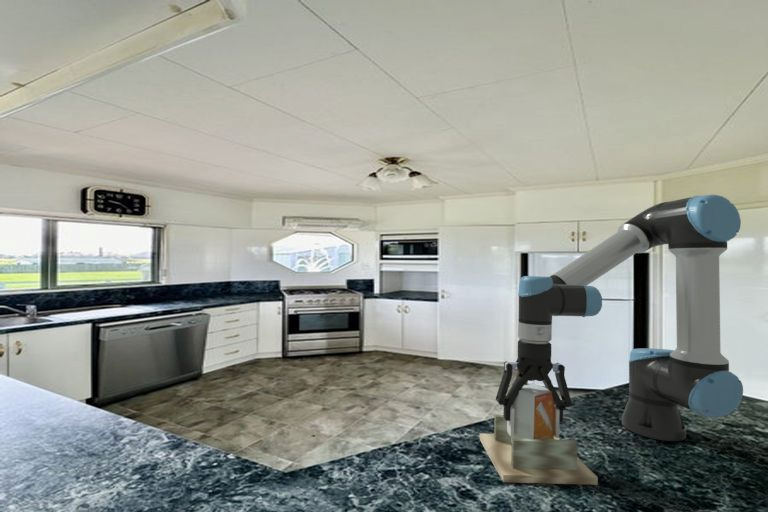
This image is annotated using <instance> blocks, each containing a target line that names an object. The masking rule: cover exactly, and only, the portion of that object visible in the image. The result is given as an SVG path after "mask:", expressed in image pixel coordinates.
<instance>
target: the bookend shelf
mask: <svg viewBox="0 0 768 512" xmlns="http://www.w3.org/2000/svg"><path fill="white" fill-rule="evenodd" d="M493 422H494V423H493V426H494V427H493V429H494V430H493V433H479V441H480V442H481V444H482V446H483V448H484V450H485V452H486V453H487V456H488V457H489V459H490V461H491V463H492V464H493V466H494V468H495V471H497V473H498V475H499V477H500V480H501V481H502V482H503V483H514V484H515V483H519V484H520V483H521V484H523V483H524V484H525V483H526V484H554V485H555V484H557V485H560V484H561V485H589V484H590V486H592V485H594V486H595V485H596V486H597V485H599V484H598V476H597V475H596V474H595V473H594V472H593V471H592V470H591V469H590V468H589V467H588V466H586V464H585V463H584V462H583V461H582V460H581V459H580V458H579V457H578V442H577V441H576V440H575V439H560V437H559V438H556V437H555V436H554V439H521V438H512V442H511V436H510V435H509V434H508V432H507V421H506V420H505V419H504V417H503V414H495V415H494V421H493Z"/></svg>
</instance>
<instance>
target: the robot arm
mask: <svg viewBox="0 0 768 512" xmlns="http://www.w3.org/2000/svg"><path fill="white" fill-rule="evenodd" d="M741 223H742V222H741V216H740V213H739V211H738V209H737V207H736V206H735V204H733V203H731V201H730V200H729V199H728V198H726V197H724V196H721V195H719V194H704V195H694V196H691V197H686V198H681V199H680V198H679V199H676V200H672V201H671V200H670V201H665V202H660V203H657V204H654V205H653V206H650V207H648V208H647V209H644V210H643V211H641V212H639V213H638V214H636V215H635V216H633V217H632V218H630V219H629V220H627V221H626V222H624V223H623V224H621V225H620V226H618V229H617V232H616V233H614V234H612V235H611V236H610V237H607V238H606V239H605V240H603V241H602V242H601V243H600V242H599V244H597V245H596V246H594V247H593V248H592V249H589V250H588V251H587V252H586V253H584V254H582V255H580V256H579V257H578V258H576V259H575V260H573V261H571V262H570V263H568V264H567V265H565V266H564V267H562V268H561V269H559V270H557V271H556V272H555V273H553V274H551V275H550V276H540V275H539V276H536V275H533V276H532V275H525V276H521V278H520V279H519V283H518V284H519V285H518V293H517V296H518V319H517V320H518V321H517V322H518V323H517V324H518V325H517V337H518V341H517V359H516V361H515V362H509V361H508V360H507V361H504V362H503V374H502V377H501V380H500V384H499V387H498V390H497V393H496V396H495V401H496V402H497V403H498V404H499V405H500V406H503V412H502V413H503V414H502V415H503V417H504V419H505V420H506V421H507V432H508V434H509V435H510V436H511V437H514V408H513V407H512V404H513V402H514V401H515V399H516V397H517V396H518V394H519V390H521V389H522V387H523V386H524V385H527V383H528V382H533V381H534V382H535V381H537V382H541V383H542V384H543V385H544V387H546V388H547V389H548V390H549V391H551V392H552V395H553V398H554V400H555V412H554V436H555V437H556V438H559V439H560V423H563V421H564V411H565V410H566V409H567V408H566V407H569V408H570V407H572V405H573V404H572V400H571V395H570V392H569V389H568V385H567V384H568V383H567V380H566V378H565V370H566V367H565V366H564V365H563V364H561V363H560V362H556V363H554V362H553V363H552V343H551V341H552V336H553V334H552V333H553V331H552V327H553V317H582V318H585V317H593V316H596V315H598V314H599V313H600V312H601V309H602V307H603V297H602V294H601V292H600V290H599V288H597V287H595V286H592V285H590V284H592V283H593V282H595V281H596V280H598V279H599V278H600V277H602V276H604V275H605V274H606V273H608V272H609V271H611V270H612V269H614V268H616V267H617V266H619V265H620V264H623V262H625V261H626V260H627V259H629V258H631V257H632V256H635V255H636V253H638V254H642V253H646V252H647V251H648V250H651V248H655V247H658V246H663V245H668V246H667V247H668V251H669V252H670V253H671V254H672V255H673V256H674V257H675V294H676V295H675V296H676V297H675V298H676V299H675V302H676V303H675V305H676V308H675V309H676V311H675V313H676V315H675V316H676V318H675V319H676V348H675V349H674V350H673V349H667V348H666V349H665V348H663V349H662V348H649V347H648V348H646V347H645V348H644V347H643V348H641V347H640V348H639V347H638V348H634V349H632V350H630V353H629V360H628V379H629V380H628V383H629V384H628V387H629V389H628V393H629V394H628V399H627V402H626V405H625V408H624V410H623V412H622V414H621V425H622V426H623V427H624V428H625V429H627V430H628V431H631V432H632V433H635V434H637V435H639V436H643V437H646V438H650V439H653V440H658V441H659V440H660V441H665V442H681V441H684V440H686V439H687V428H686V425H685V422H684V419H683V417H682V414H681V410H680V409H679V408H680V407H684V408H686V409H688V410H691V411H692V412H694V413H697V414H700V415H704V416H707V417H711V418H723V417H725V416H728V415H730V414H732V413H733V412H734V410H735V409H737V408H738V406H739V405H740V404H741V402H742V400H743V396H744V386H743V382H742V381H741V380H740V378H739V377H738V376H737V375H736V374H735V373H733V372H732V371H730V362H729V360H728V358H727V357H725V356H724V355H723V354H722V353H721V304H720V303H721V301H720V299H721V298H720V297H721V296H720V294H721V293H720V291H721V290H720V289H721V288H720V286H721V285H720V256H721V255H722V254H723V253H725V252H726V251H727V250H728V242H729V241H731V240H733V239H734V238H736V236H738V235H737V233H739V231H740V229H741ZM516 369H517V370H518V373H517V375H516V379H515V380H514V382H513V384H512V385H511V387H510V383H511V382H512V381H511V380H512V377H513V373H514V372H515V370H516ZM551 371H552V372H553V373H554V376H555V380H556V384H557V387H558V391H559V393H558V392H557V391H556V388H555V386H554V385H553V383H552V379H550V376H549V373H550V372H551ZM509 388H510V389H509ZM508 390H509V391H508ZM679 406H680V407H679Z"/></svg>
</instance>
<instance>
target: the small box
mask: <svg viewBox="0 0 768 512" xmlns="http://www.w3.org/2000/svg"><path fill="white" fill-rule="evenodd" d="M512 407H513V408H514V437H511V442H512V438H521V439H554V412H555V400H554V398H553V395H552V392H551V391H549V390H548V389H547V388H546V387H545V386H542V385H539V384H536V383H530V384H524V386H523V387H522V389H521V390H519V394H518V396H517V397H516V399H515V401H514V402H513V404H512Z"/></svg>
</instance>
